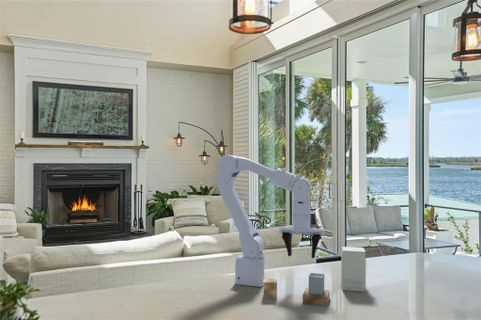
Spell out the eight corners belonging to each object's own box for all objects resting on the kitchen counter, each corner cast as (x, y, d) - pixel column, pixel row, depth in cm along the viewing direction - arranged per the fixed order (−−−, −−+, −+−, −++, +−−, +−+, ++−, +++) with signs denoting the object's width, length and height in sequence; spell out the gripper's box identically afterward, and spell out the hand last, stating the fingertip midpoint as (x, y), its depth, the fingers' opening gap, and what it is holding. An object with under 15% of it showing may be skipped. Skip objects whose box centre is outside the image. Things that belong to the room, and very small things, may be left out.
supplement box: (365, 291, 133) (366, 251, 133) (341, 290, 134) (341, 250, 134) (363, 285, 140) (364, 247, 140) (340, 283, 142) (341, 246, 142)
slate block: (308, 293, 123) (308, 276, 123) (310, 289, 126) (310, 272, 126) (322, 295, 121) (322, 277, 121) (324, 291, 125) (324, 274, 125)
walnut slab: (302, 305, 122) (302, 294, 122) (305, 297, 128) (305, 287, 128) (327, 307, 120) (327, 297, 120) (329, 300, 126) (329, 290, 126)
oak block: (263, 298, 126) (263, 282, 126) (263, 294, 130) (263, 278, 130) (277, 299, 126) (277, 282, 126) (276, 294, 130) (276, 278, 130)
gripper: (277, 215, 136) (276, 257, 136) (322, 217, 132) (322, 261, 132) (282, 212, 143) (281, 252, 143) (325, 214, 138) (325, 256, 138)
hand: (301, 256), depth 138 cm, fingers open, 7 cm apart
